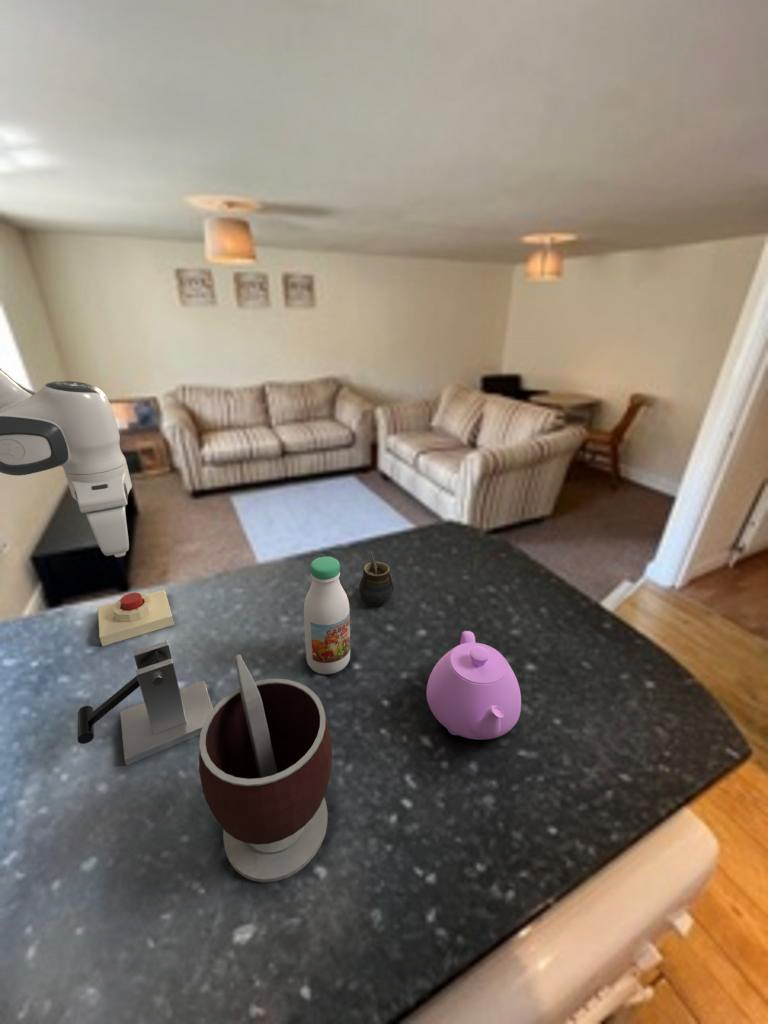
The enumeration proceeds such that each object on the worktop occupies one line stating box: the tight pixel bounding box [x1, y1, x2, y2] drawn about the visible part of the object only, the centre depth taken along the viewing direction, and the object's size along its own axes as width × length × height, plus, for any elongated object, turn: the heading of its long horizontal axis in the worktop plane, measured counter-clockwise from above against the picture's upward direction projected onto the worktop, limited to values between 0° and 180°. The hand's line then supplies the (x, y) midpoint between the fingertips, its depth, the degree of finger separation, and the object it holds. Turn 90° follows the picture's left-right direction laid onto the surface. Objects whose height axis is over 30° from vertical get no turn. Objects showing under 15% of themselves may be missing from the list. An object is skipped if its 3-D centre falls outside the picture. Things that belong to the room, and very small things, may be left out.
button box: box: [97, 589, 175, 647], centre depth 86 cm, size 12×10×4 cm
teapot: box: [426, 630, 522, 741], centre depth 66 cm, size 20×14×12 cm
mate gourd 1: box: [198, 654, 333, 883], centre depth 51 cm, size 16×14×20 cm
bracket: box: [119, 640, 214, 766], centre depth 64 cm, size 12×9×13 cm
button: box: [119, 591, 143, 611], centre depth 85 cm, size 4×4×2 cm
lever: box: [77, 651, 168, 745], centre depth 61 cm, size 13×5×2 cm, turn 121°
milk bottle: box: [303, 556, 351, 675], centre depth 75 cm, size 8×8×20 cm
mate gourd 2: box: [358, 550, 395, 607], centre depth 93 cm, size 7×8×10 cm
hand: (120, 552), depth 81 cm, fingers closed
